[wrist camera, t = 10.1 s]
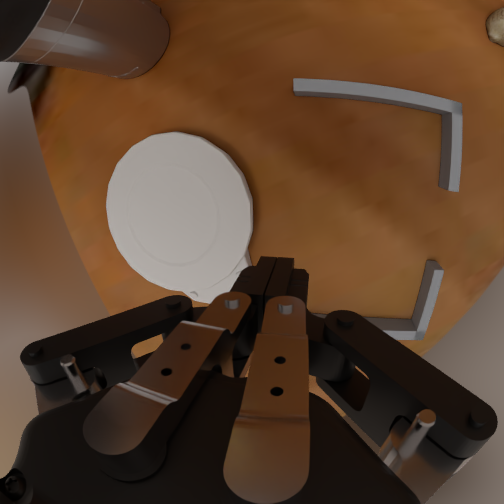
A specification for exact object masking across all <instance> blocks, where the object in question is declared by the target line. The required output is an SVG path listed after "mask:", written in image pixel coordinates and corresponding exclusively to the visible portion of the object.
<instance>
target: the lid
mask: <svg viewBox="0 0 504 504" xmlns="http://www.w3.org/2000/svg"><path fill="white" fill-rule="evenodd" d="M106 209H107V216H108V223H109V229H110V231H111V234H112V236H113V238H114V241H115V243H116V246H117V248H118V250H119V251H120V253H121V254H122V255H123V257H124V258H125V259H126V261H127V262H128V263H129V265H130V266H131V267H132V268H133V269H134V270H135V271H137V272H138V273H139V274H140V275H142V276H143V277H144V278H145V279H147V280H148V281H150V282H152V283H154V284H157V285H159V286H161V287H164V288H166V289H168V290H177V291H183V292H184V293H185V294H186V295H188V296H189V297H190V298H191V299H193V300H194V301H199V302H204V303H209V304H210V303H211V302H212V301H213V300H214V299H215V297H217V296H218V295H220V294H222V293H225V292H229V291H230V290H231V288H232V286H233V285H234V283H235V281H236V279H237V278H238V277H239V274H240V273H241V271H242V270H243V269H245V268H246V267H248V266H252V264H251V260H250V256H249V252H248V245H249V242H250V238H251V235H252V232H253V198H252V196H251V193H250V190H249V187H248V184H247V182H246V179H245V176H244V174H243V173H242V171H241V170H240V169H239V167H238V166H237V165H236V164H235V162H234V161H233V160H232V158H231V157H230V156H229V155H228V154H227V153H225V152H224V151H223V150H221V149H220V148H218V147H217V146H215V145H214V144H212V143H211V142H209V141H207V140H206V139H204V138H203V137H199V136H195V135H191V134H186V133H182V132H169V133H162V134H155V135H151V136H149V137H148V138H146V139H144V140H142V141H140V142H139V143H137V144H135V145H133V146H132V147H131V148H130V149H129V151H128V152H127V153H126V154H125V155H124V156H123V158H122V159H121V160H120V161H119V162H118V163H117V166H116V168H115V170H114V173H113V175H112V177H111V180H110V182H109V186H108V194H107V203H106Z"/></svg>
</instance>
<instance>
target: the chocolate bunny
mask: <svg viewBox="0 0 504 504" xmlns="http://www.w3.org/2000/svg"><path fill="white" fill-rule="evenodd" d="M486 27H487V32H488V35H489V39H490V41H492V42H495V43H498V44H499V45H501V46H504V7H503V8H500V9H498V10H496V11H495V12H494V13H492V14H491V15H490V16H489V17H488V19H487V21H486Z"/></svg>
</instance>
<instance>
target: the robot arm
mask: <svg viewBox="0 0 504 504" xmlns="http://www.w3.org/2000/svg"><path fill="white" fill-rule="evenodd" d="M168 40H169V26H168V23H167V21H166V19H165V18H164V17H163V16H162V15H161V14H160V7H159V6H157V5H156V4H154V3H153V2H151V1H150V0H0V61H2V62H19V63H32V64H41V65H50V66H57V67H64V68H71V69H77V70H82V71H88V72H93V73H98V74H103V75H108V76H111V77H117V78H122V79H129V78H134V77H137V76H140V75H142V74H143V73H145V72H147V71H148V70H149V69H150V68H152V67H153V66H154V65H155V64H156V63H157V61H158V60H159V59H160V57H161V56H162V55H163V53H164V51H165V49H166V47H167V44H168ZM308 281H309V274H308V273H307V272H306V270H305V269H294V258H283V257H278V259H277V257H265V256H261V257H260V259H259V261H258V263H257V266H248V267H246V268H245V269H243V270H242V271H241V273H240V274H239V277H238V278H237V279H236V281H235V283H234V285H233V286H232V288H231V290H230V291H229V292H225V293H222V294H220V295H218V296H217V297H215V299H214V300H213V301H212V302H211V303H210V305H209V306H207V307H194V308H193V307H192V301H191V299H190V298H188V297H186V296H181V295H173V296H168V297H165V298H162V299H159V300H156V301H153V302H151V303H148V304H145V305H142V306H139V307H136V308H133V309H130V310H127V311H125V312H122V313H119V314H116V315H113V316H110V317H107V318H104V319H101V320H98V321H95V322H92V323H89V324H86V325H84V326H80V327H77V328H75V329H72V330H69V331H66V332H63V333H60V334H57V335H54V336H51V337H47V338H45V339H42V340H39V341H35V342H33V343H31V344H29V345H28V346H26V347H25V348H24V350H23V351H22V353H21V355H20V359H21V362H22V364H23V365H24V367H25V369H26V371H27V372H28V374H29V376H30V379H31V381H32V383H33V384H34V386H35V391H36V398H37V405H38V411H39V415H37V416H36V417H35V418H33V419H32V420H31V421H30V422H29V423H28V425H27V426H26V428H25V429H24V431H23V434H22V437H21V441H20V446H19V450H18V454H17V457H16V460H15V462H14V464H13V466H12V469H11V470H10V472H9V473H8V474H7V475H6V476H5V477H3V478H1V479H0V504H425V503H426V502H427V501H428V500H429V499H430V498H431V497H432V496H433V495H434V494H435V493H436V492H437V491H438V489H440V487H441V486H442V485H443V484H444V483H446V482H447V481H448V480H449V479H450V478H451V477H452V476H453V475H454V474H456V473H457V472H458V471H459V470H460V469H461V468H462V467H463V466H464V465H465V464H466V463H467V462H468V461H469V460H470V459H471V458H472V457H473V456H474V455H475V454H476V453H477V452H478V451H479V450H480V448H481V447H482V446H483V445H484V444H485V443H486V442H487V441H488V440H489V438H490V437H491V436H492V435H493V434H494V432H495V431H496V428H497V423H498V421H497V416H496V413H495V411H494V410H493V409H492V408H491V406H489V405H488V404H487V403H485V402H484V401H483V400H481V399H480V398H478V397H477V396H476V395H474V394H473V393H471V392H470V391H469V390H467V389H466V388H464V387H462V386H461V385H460V384H458V383H457V382H456V381H454V380H453V379H451V378H450V377H448V376H447V375H446V374H444V373H443V372H441V371H440V370H439V369H437V368H436V367H434V366H433V365H431V364H430V363H428V362H427V361H426V360H424V359H423V358H421V357H420V356H419V355H417V354H416V353H414V352H413V351H411V350H410V349H408V348H407V347H406V346H404V345H403V344H401V343H400V342H398V341H397V340H395V339H394V338H393V337H391V336H390V335H388V334H387V333H385V332H384V331H382V330H381V329H379V328H378V327H377V326H375V325H374V324H372V323H371V322H369V321H368V320H366V319H365V318H363V317H362V316H361V315H359V314H357V313H355V312H352V311H347V310H338V311H333V312H331V313H329V314H328V315H327V316H326V317H325V318H321V317H318V316H316V315H314V314H312V313H311V312H309V311H308V309H307V295H308ZM160 334H162V337H163V343H162V344H161V345H160V346H159V347H158V348H157V349H156V351H153V352H151V353H148V354H146V355H143V356H141V357H138V358H135V359H133V358H132V356H131V349H132V347H133V346H134V345H135V344H137V343H139V342H142V341H144V340H147V339H149V338H152V337H155V336H157V335H160ZM249 366H250V368H249ZM355 366H357V367H358V368H359V369H361V370H362V371H363V372H364V373H365V374H366V375H367V376H368V378H369V379H368V378H366V377H365V376H364V375H363V374H362V373H361V372H359V371H358V370H357V369H356V368H355ZM94 367H95V368H94ZM248 369H249V373H248V377H245V375H246V373H247V371H248ZM309 375H312V376H316V382H317V384H318V386H319V387H320V388H321V389H322V390H323V391H324V392H325V393H326V394H327V395H328V396H329V397H330V398H331V399H332V400H333V401H334V402H335V403H336V404H337V405H338V406H339V407H340V408H341V409H342V410H343V411H344V412H345V413H346V414H347V415H348V416H349V417H350V418H351V419H352V420H353V421H354V422H355V423H356V424H357V425H358V426H359V427H360V428H361V429H362V430H363V431H364V432H365V433H366V434H367V435H368V436H369V437H370V438H371V439H372V440H373V441H374V442H375V443H376V444H377V445H378V446H379V447H380V451H379V457H378V456H377V454H376V453H375V452H374V451H373V450H372V449H371V448H370V447H369V446H368V445H367V444H366V443H365V442H364V441H363V440H362V438H360V437H359V435H358V434H357V433H356V432H355V431H354V430H353V429H352V428H351V427H350V425H349V424H348V423H347V422H346V421H345V420H344V419H343V418H342V417H341V416H340V414H339V413H338V412H337V411H336V410H335V409H334V408H333V407H332V406H331V405H330V404H329V403H328V402H326V401H325V400H324V399H322V398H321V397H319V396H317V395H315V394H313V393H311V392H309Z"/></svg>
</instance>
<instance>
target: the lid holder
mask: <svg viewBox="0 0 504 504" xmlns="http://www.w3.org/2000/svg"><path fill="white" fill-rule="evenodd" d="M294 93H295V96H314V97H330V98H343V99H353V100H362V101H370V102H378V103H385V104H391V105H397V106H403V107H409V108H414V109H419V110H424V111H429V112H433V113H437V114H442V144H441V163H440V177H439V187H441V188H444V189H446V190H449V191H455V192H458V191H459V182H460V171H461V156H462V103H459V102H455V101H452V100H448V99H444V98H440V97H436V96H432V95H428V94H423V93H419V92H414V91H409V90H404V89H398V88H393V87H387V86H380V85H373V84H365V83H357V82H347V81H336V80H321V79H294ZM443 273H444V269H443V268H442V267H441V266H440V265H439V264H438V263H437V262H436V261H430V260H427V262H426V266H425V271H424V275H423V279H422V283H421V287H420V291H419V295H418V299H417V302H416V306H415V309H414V313H413V316H412V319H391V318H370V317H363V318H365V319H366V320H368V321H369V322H371V323H372V324H374V325H375V326H377V327H378V328H379V329H381V330H382V331H384V332H385V333H387V334H388V335H390V336H391V337H393V338H394V339H395V340H423V338H424V335H425V332H426V329H427V327H428V324H429V321H430V318H431V315H432V312H433V308H434V305H435V302H436V299H437V295H438V292H439V288H440V285H441V281H442V277H443ZM312 314H313V313H312ZM314 315H316V316H318V317H321V318H325V317H326V316H327V315H325V314H314Z"/></svg>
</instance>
